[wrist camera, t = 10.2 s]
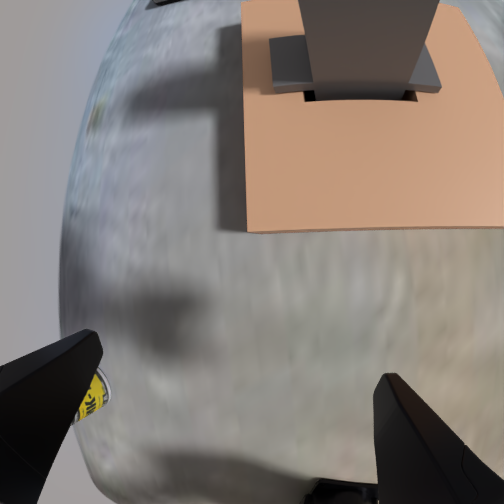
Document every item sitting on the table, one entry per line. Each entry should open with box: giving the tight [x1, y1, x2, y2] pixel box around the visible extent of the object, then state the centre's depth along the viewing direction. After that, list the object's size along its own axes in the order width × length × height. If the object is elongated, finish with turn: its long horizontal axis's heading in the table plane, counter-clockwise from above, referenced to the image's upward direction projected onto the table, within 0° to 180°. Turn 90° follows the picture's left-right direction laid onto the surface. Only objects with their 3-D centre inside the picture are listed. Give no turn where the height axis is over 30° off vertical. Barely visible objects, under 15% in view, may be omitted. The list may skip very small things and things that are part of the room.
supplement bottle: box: [71, 368, 111, 425], centre depth 19 cm, size 5×5×8 cm
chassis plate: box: [241, 0, 504, 234], centre depth 14 cm, size 18×18×3 cm
